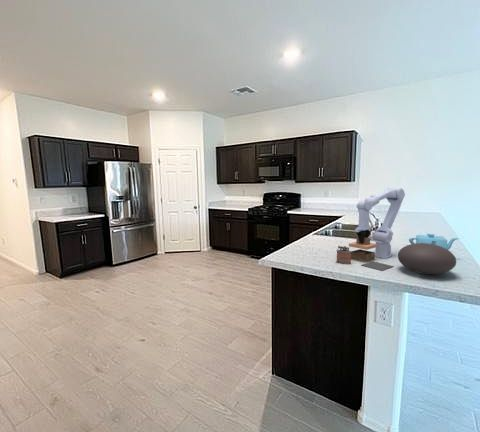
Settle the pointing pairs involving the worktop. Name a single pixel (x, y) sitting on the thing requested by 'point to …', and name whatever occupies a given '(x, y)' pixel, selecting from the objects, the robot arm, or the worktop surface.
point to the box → (362, 255)
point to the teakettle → (433, 240)
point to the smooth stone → (427, 258)
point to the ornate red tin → (343, 255)
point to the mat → (377, 266)
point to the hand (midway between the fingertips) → (363, 242)
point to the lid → (363, 244)
